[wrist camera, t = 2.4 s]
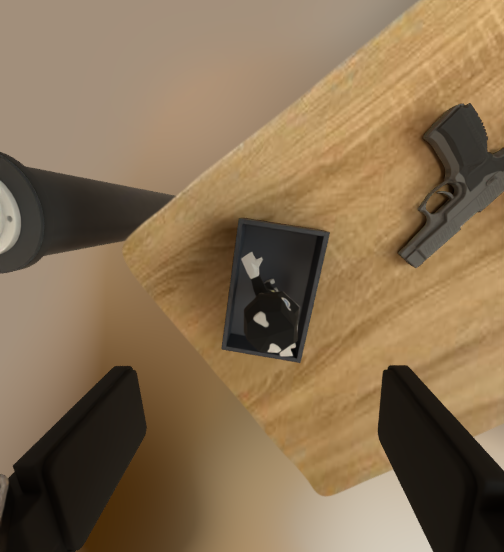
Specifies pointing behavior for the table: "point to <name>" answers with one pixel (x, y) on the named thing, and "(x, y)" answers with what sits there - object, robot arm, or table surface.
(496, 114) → the table surface
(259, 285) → the toy
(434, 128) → the handgun
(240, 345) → the dark grey open box
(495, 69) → the table surface
